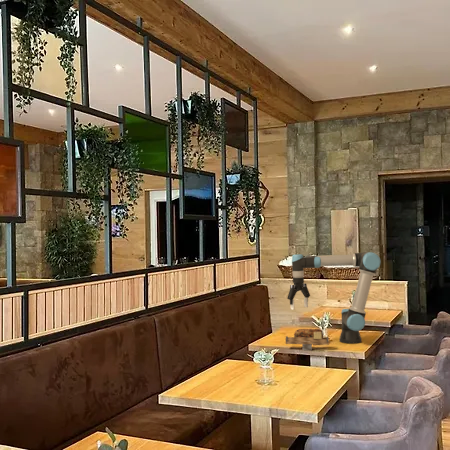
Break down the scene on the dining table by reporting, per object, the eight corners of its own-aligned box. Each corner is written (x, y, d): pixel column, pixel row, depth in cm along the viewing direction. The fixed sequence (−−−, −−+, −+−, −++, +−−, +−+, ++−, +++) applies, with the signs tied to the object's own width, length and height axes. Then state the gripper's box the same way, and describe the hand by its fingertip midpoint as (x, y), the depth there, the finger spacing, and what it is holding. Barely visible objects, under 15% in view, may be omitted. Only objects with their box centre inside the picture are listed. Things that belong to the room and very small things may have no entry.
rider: (321, 339, 367) (321, 331, 367) (321, 341, 361) (321, 333, 361) (313, 339, 368) (313, 331, 368) (313, 341, 362) (313, 333, 362)
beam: (328, 348, 367) (328, 336, 367) (328, 350, 360) (328, 339, 360) (286, 347, 372) (286, 336, 372) (285, 350, 364) (285, 338, 364)
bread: (323, 342, 386) (323, 328, 386) (319, 345, 376) (319, 331, 376) (298, 340, 394) (297, 326, 394) (293, 343, 384) (293, 329, 384)
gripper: (306, 275, 386) (307, 305, 386) (281, 278, 370) (282, 310, 370) (314, 275, 380) (315, 306, 380) (289, 278, 364) (290, 311, 364)
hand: (299, 308), depth 375 cm, fingers open, 13 cm apart
